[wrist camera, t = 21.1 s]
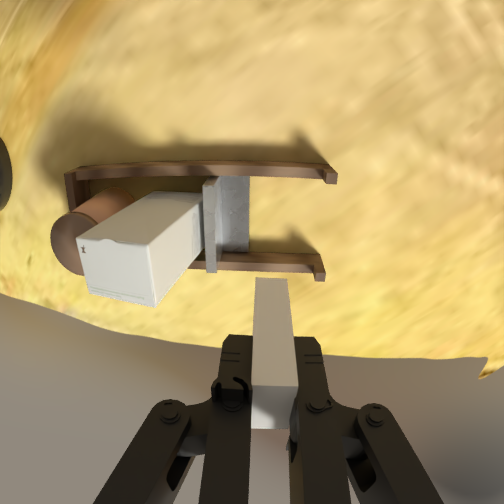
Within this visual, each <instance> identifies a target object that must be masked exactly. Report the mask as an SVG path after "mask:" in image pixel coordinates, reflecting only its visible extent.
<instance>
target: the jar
mask: <svg viewBox="0 0 504 504" xmlns="http://www.w3.org/2000/svg"><path fill="white" fill-rule="evenodd" d="M134 202H135V201H134V199H133V198H132V196H131V195H130V194H129V193H127V192H126V191H125V190H123V189H120V188H116V187H110V188H106V189H104V190H103V191H101V192H100V193H98V194H97V195H95V196H94V197H92V198H91V199H89V200H88V201H86V202H85V203H83V204H82V205H80V206H79V207H77V208H76V209H74V210H73V211H72V212H69V213H66V214H64V215H63V216H62V217H60V218H59V219H58V220H57V221H56V222H55V223H54V225H53V227H52V230H51V237H50V238H51V246H52V249H53V252H54V254H55V256H56V257H57V259H58V260H59V262H60V263H61V264H62V265H63V266H64V267H65V268H66V269H68V270H69V271H71V272H72V273H75V274H77V275H82V276H85V275H84V271H83V267H82V263H81V259H80V255H79V251H78V246H77V242H76V237H78V236H80V235H82V234H83V233H85V232H86V231H88V230H90V229H91V228H93V227H94V226H96V225H98V224H99V223H101V222H102V221H104V220H106V219H107V218H109V217H111V216H112V215H114V214H116V213H117V212H119V211H121V210H122V209H124V208H126V207H127V206H129V205H131V204H132V203H134Z"/></svg>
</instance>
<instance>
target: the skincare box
mask: <svg viewBox="0 0 504 504" xmlns="http://www.w3.org/2000/svg"><path fill="white" fill-rule="evenodd" d="M76 242H77V246H78V251H79V255H80V259H81V263H82V267H83V271H84V275H85V279H86V283H87V286H88V290H89V293H90V294H94V295H98V296H103V297H107V298H112V299H117V300H121V301H126V302H130V303H135V304H140V305H145V306H149V307H155V308H156V306H157V305H158V304H159V303H160V301H161V300H162V299H163V297H164V296H165V295H166V294H167V292H168V291H169V290H170V289H171V287H172V286H173V285H174V284H175V283H176V281H177V280H178V279H179V278H180V276H181V275H182V274H183V273H184V271H185V270H186V269H187V268H188V267H189V265H190V264H191V263H192V262H193V261H194V259H195V258H196V257H197V256H198V255H199V253H200V252H201V251H202V250H203V248H204V247H205V235H204V213H203V193H190V192H168V191H153V192H151V193H150V194H148V195H146V196H144V197H143V198H141V199H139V200H138V201H136V202H134V203H132V204H131V205H129V206H127V207H126V208H124V209H122V210H121V211H119V212H117V213H116V214H114V215H112V216H111V217H109V218H107V219H106V220H104V221H102V222H101V223H99V224H98V225H96V226H94V227H93V228H91V229H90V230H88V231H86V232H85V233H83V234H82V235H80V236H78V237H76Z"/></svg>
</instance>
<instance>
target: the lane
mask: <svg viewBox="0 0 504 504" xmlns="http://www.w3.org/2000/svg"><path fill="white" fill-rule="evenodd" d="M147 176H266V177H292V178H311V179H323V180H324V182H325V183H326V184H337V176H338V173H337V172H336V171H335V170H334V169H333V168H332V167H331V166H330V165H329V164H314V163H297V162H274V161H232V160H202V161H160V162H138V163H121V164H106V165H94V166H83V167H78V168H76V169H74V170H72V171H69V172H67V173H65V174H64V177H65V184H66V191H67V197H68V203H69V209H70V212H72V211H73V210H74V209H76V208H77V207H79V206H80V205H82V204H83V203H85V202H86V201H88V200H89V199H91V198H90V191H89V183H88V179H104V178H122V177H147ZM187 269H206V254H205V250H202V251H201V252H200V253H199V255H198V256H197V257H196V258H195V259H194V261H193V262H192V263H191V264H190V265H189V267H188V268H187ZM218 270H232V271H260V272H292V273H313V275H314V279H315V281H321V282H325V276H326V272H325V269H324V265H323V262H322V259H321V256H320V254H296V253H266V252H230V251H223V252H222V255H221V259H220V263H219V266H218Z"/></svg>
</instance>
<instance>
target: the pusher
mask: <svg viewBox="0 0 504 504" xmlns="http://www.w3.org/2000/svg"><path fill="white" fill-rule="evenodd" d="M249 188H250V176H209V177H208V179H207V180H206V181H205V183H204V184H203V213H204V235H205V254H206V271H207V273H217V270H218V266H219V263H220V259H221V255H222V252H223V251H230V252H249Z"/></svg>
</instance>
